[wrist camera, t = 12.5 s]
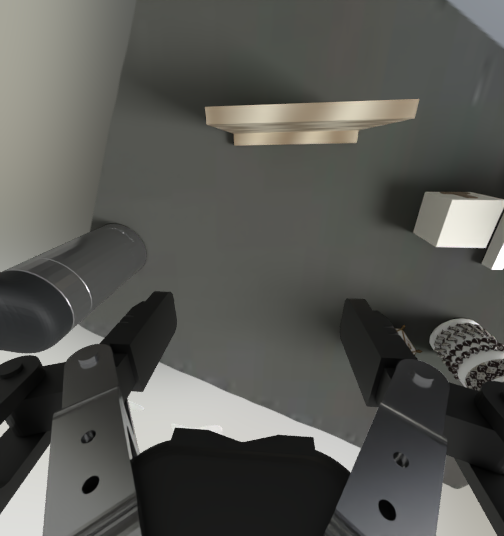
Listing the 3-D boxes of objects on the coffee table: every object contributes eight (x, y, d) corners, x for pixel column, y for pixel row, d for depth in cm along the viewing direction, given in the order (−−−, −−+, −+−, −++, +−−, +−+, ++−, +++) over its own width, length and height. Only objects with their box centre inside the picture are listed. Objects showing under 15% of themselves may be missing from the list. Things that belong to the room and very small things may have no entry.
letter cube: (454, 233, 36) (485, 248, 31) (412, 232, 37) (435, 246, 32) (470, 190, 34) (507, 198, 28) (425, 190, 34) (452, 198, 29)
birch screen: (359, 107, 31) (424, 75, 17) (354, 142, 32) (409, 139, 19) (233, 111, 32) (203, 84, 19) (235, 145, 34) (208, 143, 20)
